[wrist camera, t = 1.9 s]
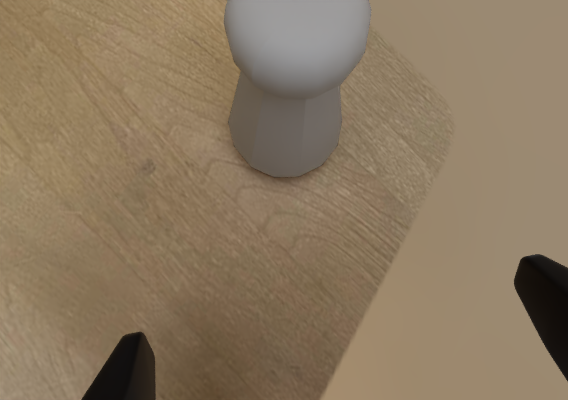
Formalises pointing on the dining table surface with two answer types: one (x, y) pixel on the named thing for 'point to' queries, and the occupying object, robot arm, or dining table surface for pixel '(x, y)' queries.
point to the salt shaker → (291, 78)
